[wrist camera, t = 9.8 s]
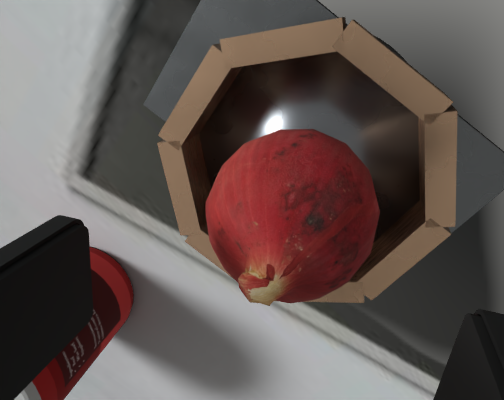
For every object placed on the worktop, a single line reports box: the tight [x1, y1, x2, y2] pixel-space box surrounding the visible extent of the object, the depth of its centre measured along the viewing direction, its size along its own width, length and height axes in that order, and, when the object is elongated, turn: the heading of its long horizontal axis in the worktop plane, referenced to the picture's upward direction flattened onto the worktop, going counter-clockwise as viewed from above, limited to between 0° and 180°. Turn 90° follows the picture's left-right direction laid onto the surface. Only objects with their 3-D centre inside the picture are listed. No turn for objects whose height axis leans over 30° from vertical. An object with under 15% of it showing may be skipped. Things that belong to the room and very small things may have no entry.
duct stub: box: [143, 0, 504, 303], centre depth 19 cm, size 18×11×8 cm, turn 55°
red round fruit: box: [206, 129, 380, 306], centre depth 14 cm, size 6×6×8 cm
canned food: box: [14, 247, 134, 400], centre depth 28 cm, size 8×8×11 cm
